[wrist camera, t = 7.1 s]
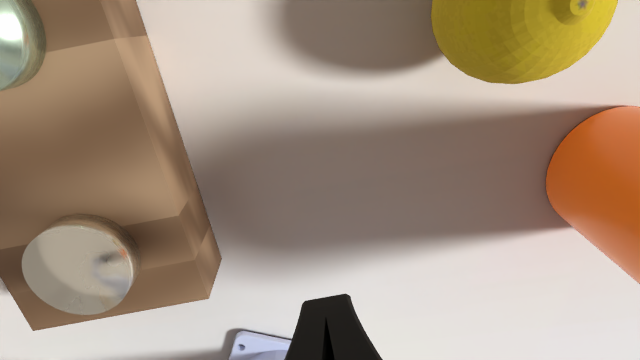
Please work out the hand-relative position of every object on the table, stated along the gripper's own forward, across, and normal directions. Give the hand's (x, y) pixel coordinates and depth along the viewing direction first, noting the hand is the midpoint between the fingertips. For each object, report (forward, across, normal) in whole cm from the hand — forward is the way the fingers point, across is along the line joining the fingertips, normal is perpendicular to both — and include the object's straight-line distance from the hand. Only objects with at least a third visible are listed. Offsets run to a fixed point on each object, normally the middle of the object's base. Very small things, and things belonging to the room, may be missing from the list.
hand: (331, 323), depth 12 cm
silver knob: (+10, +11, 0) cm, 15 cm away
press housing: (+10, +11, -5) cm, 16 cm away
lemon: (+11, -8, -7) cm, 15 cm away
